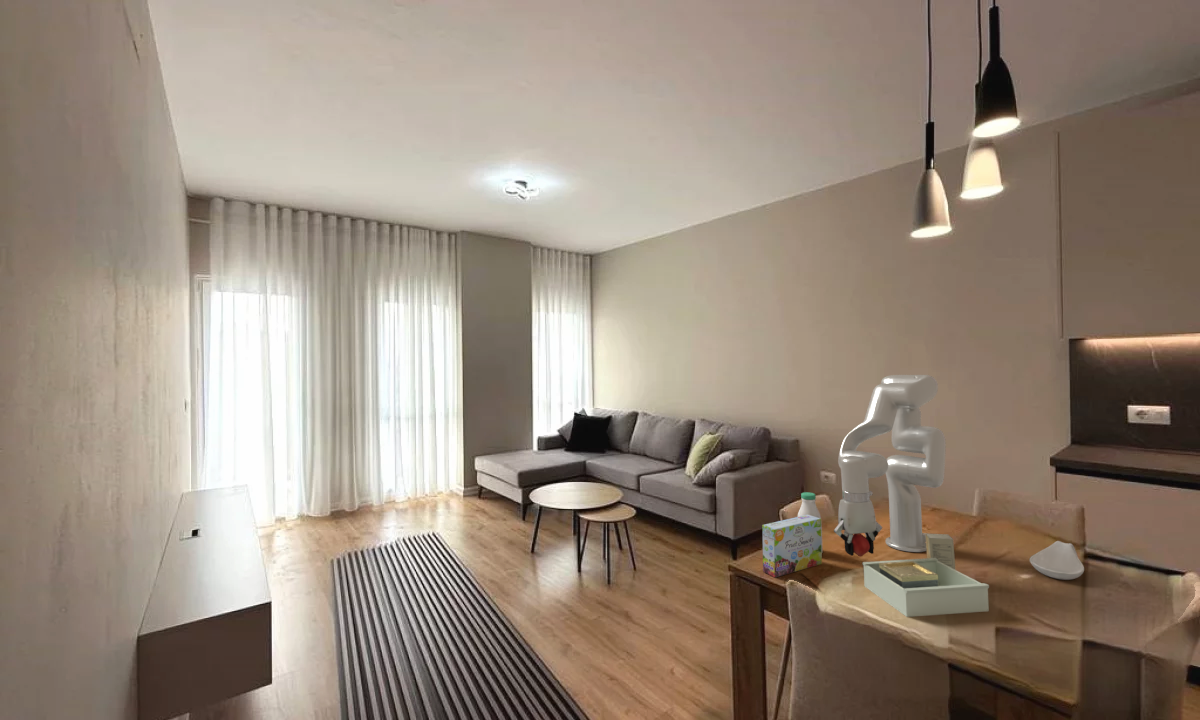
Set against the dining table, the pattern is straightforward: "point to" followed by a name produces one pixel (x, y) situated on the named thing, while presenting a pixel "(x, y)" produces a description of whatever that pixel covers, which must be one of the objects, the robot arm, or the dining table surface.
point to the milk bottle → (809, 508)
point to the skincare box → (941, 548)
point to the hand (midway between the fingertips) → (859, 552)
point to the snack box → (791, 545)
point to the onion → (860, 544)
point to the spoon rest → (1058, 561)
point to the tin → (909, 574)
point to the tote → (929, 591)
